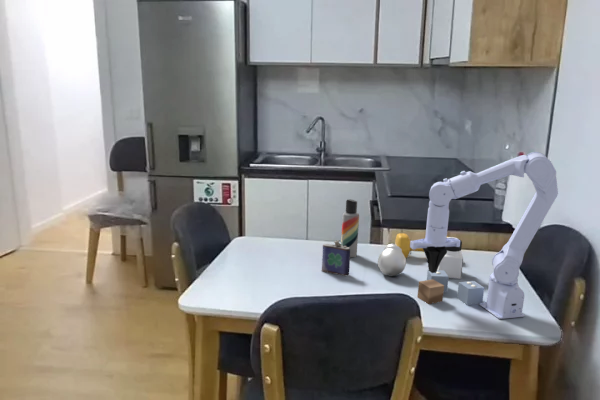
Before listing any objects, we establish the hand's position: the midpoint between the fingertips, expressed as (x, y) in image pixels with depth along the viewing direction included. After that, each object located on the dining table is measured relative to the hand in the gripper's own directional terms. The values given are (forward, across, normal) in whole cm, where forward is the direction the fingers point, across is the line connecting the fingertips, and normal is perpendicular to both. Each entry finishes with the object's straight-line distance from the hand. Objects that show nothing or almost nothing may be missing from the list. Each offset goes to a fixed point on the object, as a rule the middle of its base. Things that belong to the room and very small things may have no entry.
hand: (432, 271), depth 152 cm
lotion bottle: (+9, +10, -40) cm, 42 cm away
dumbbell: (+9, -15, -34) cm, 38 cm away
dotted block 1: (+9, -6, -7) cm, 13 cm away
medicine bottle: (+9, -16, -17) cm, 25 cm away
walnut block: (+9, 0, 0) cm, 9 cm away
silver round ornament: (+9, +3, -20) cm, 22 cm away
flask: (+9, +20, -25) cm, 33 cm away
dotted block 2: (+9, -11, +3) cm, 14 cm away
